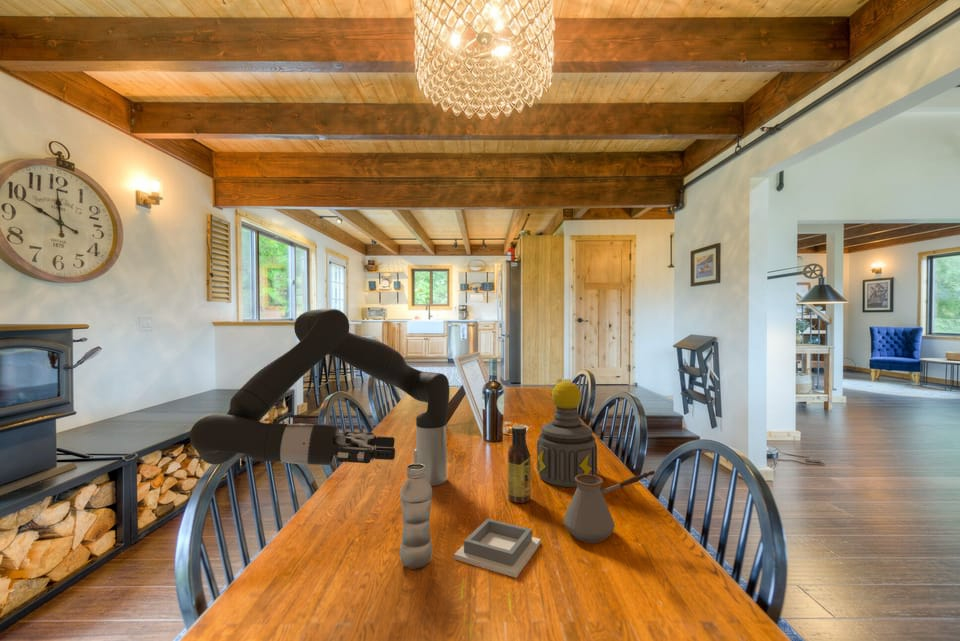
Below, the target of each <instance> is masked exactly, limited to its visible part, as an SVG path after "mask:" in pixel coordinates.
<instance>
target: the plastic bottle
mask: <svg viewBox="0 0 960 641" xmlns="http://www.w3.org/2000/svg"><path fill="white" fill-rule="evenodd" d="M405 475H406V477H407V479H406V480H405V481H404V483H403V485H402V486H401V489H400V492H399V496H400V505H401V513H402V515H401V517H402V532H401V542H400V546H399V560H400V561H401V563H402V564H403V566H404V567H406V568H408V569H412V570H414V569H421V568H424V567H426V566H427V565H428V564H429V562H430V561H431V560H432V557H433V556H432V555H433V552H434V551H433V544H432V542H433V541H432V538H431V526H430V517H431V508H432V499H433V489H432V486H431V485H430V484H429V482H428V481H427V480H426V479H425V478H424V476H425V475H426V472H425V465H423V464H414V463H411V464H408V465H406V473H405Z"/></svg>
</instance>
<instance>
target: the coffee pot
mask: <svg viewBox="0 0 960 641" xmlns="http://www.w3.org/2000/svg"><path fill="white" fill-rule="evenodd" d="M653 475H654V477H655V479H656V480H659V477H658V475H657V473H656V471H655V470H651V471H649V472H643V474H639V475H633V477H630V478H628V479H626V480H623V481H621V482H619V483H616V484H614V485H612V486H609V487H606V488H603V489H601V486H602V484H603V483H604V480H603V478H602V477H601V476H599V475H597V474H596V475H591V474H580V475H577V476H575V481H576V482H577V486H578V487H576V490H575V492H574V494H573V496H572V498H571V500H570V503H569V505H568V507H567V510H566V512H565V514H564V516H563V524H564V525H565V528H566V529H567V531H568V532H569V533H571V535H572V536H573V537H574V538H575V539H577V540H579V541H581V542H584V543H592V544H594V543H595V544H596V543H600V542H603V541H605V539H607V538H608V537H610V535H611V534H613V532H614V529H615V527H616V525H615V521H614V518H613V516H612V514H611V511H610V509H609V507H608V504H607V502H606V499H605V498H604V494H607V493H610V492H611V491H614V490H616V489H618V488H622V487H625V486H629V485H632V484H635V483H637V482H639V481H641V480H643V479H648V477H649V476H653Z"/></svg>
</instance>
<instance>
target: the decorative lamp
mask: <svg viewBox="0 0 960 641" xmlns="http://www.w3.org/2000/svg"><path fill="white" fill-rule="evenodd" d="M551 399H552V401H553V404H554V406H555V409H554V411H555V412H554V414H553V417H554V418H553V419H552V421H550V422H547V423H545V424H543V425H542V426H541V428H540V429H541V433H540V434H539V435H538V439H537V442H536V470H537V472H538V476H539V478H541V480H543V481H544V482H545V483H547V484H550V485H553V486H555V487H561V488H562V487H564V488H577V487H578V486H577V482H576V481H575V476H577V475H580V474H591V475H596V476H597V475H598V445H597V442H596V438H595V437H594V435H593V429H592V427H591V426H589V425H587V424H585V423H582V422H581V420H580V414H579V413H578V412H579V411H578V410H579V409H578V407H579V405H580V403H581V401H582V392H581V390H580V388H579V387H578V386H577V385H576V383H573V382H572V381H567V380H566V381H561V382H559V383H557V384H556V385H555V386H554V387H553V388H552V392H551Z"/></svg>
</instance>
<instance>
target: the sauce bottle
mask: <svg viewBox="0 0 960 641" xmlns="http://www.w3.org/2000/svg"><path fill="white" fill-rule="evenodd" d="M526 433H527V427H526V426H525V425H513V426H511V436H512V437H511V438H512V440H511V445H510V446H509V447H508V450H507V495H508V496H507V497H508V500H509V501H510V502H512V503H515V504H516V503H517V504H523V503H526V502H528V501H529V500H530V499H531V454H530V451H529V448H528V445H527V441H526V440H527V438H526V435H527V434H526Z"/></svg>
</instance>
